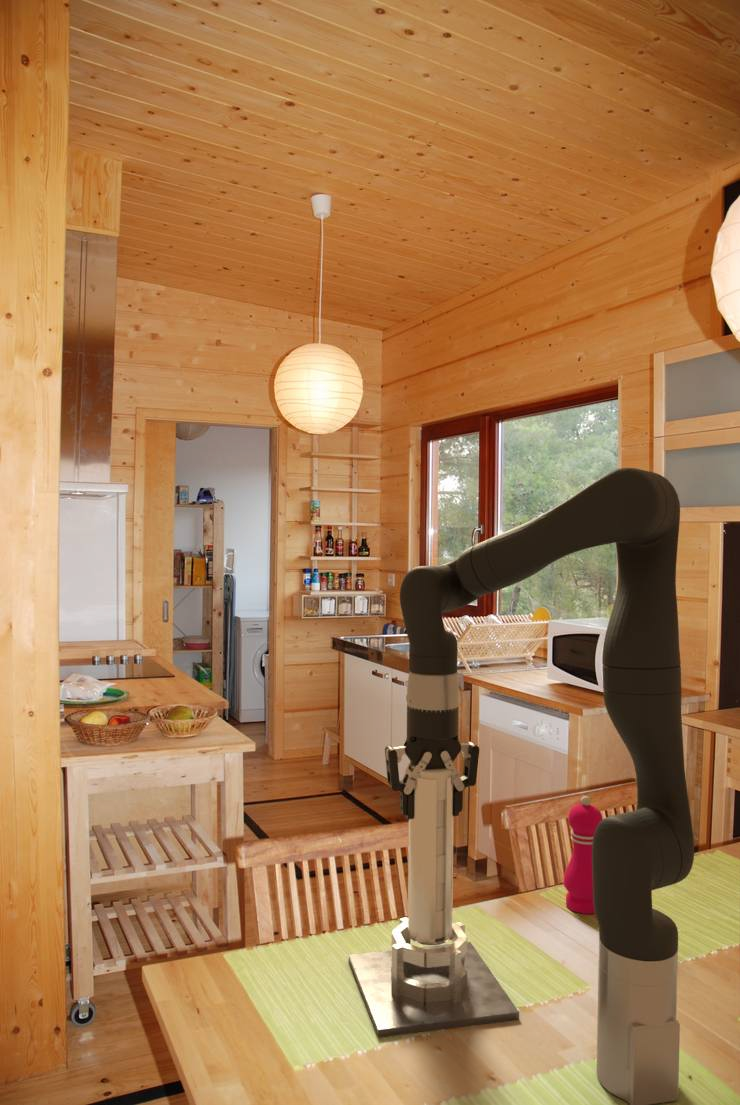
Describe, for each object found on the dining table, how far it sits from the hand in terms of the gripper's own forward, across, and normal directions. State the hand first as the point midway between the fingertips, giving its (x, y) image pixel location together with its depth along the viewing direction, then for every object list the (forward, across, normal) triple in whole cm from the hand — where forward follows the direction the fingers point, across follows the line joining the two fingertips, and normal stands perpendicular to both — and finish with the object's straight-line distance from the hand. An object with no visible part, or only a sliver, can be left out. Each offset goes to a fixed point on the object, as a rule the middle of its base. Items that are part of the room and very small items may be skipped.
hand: (431, 815), depth 123 cm
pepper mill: (+26, +35, +20) cm, 48 cm away
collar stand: (+26, 0, 0) cm, 26 cm away
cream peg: (+18, 0, 0) cm, 18 cm away
